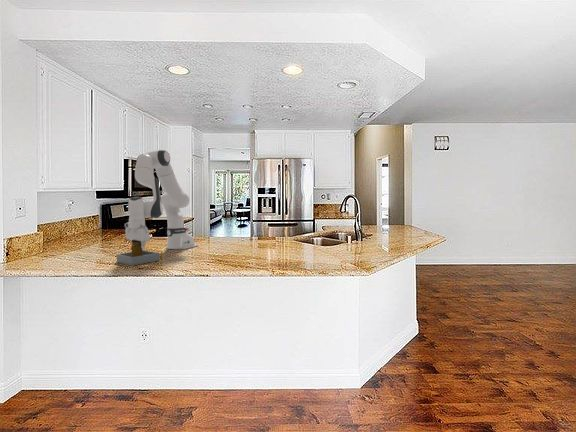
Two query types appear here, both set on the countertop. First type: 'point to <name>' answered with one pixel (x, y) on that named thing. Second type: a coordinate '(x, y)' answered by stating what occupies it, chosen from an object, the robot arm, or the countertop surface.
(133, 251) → the condiment
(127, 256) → the bin
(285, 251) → the countertop surface
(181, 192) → the robot arm
